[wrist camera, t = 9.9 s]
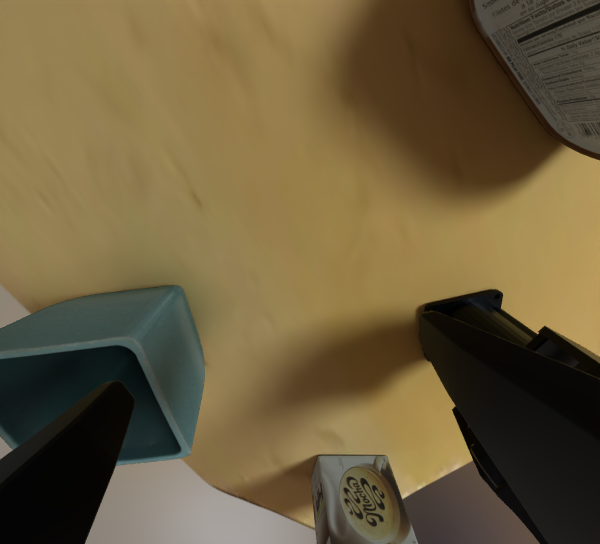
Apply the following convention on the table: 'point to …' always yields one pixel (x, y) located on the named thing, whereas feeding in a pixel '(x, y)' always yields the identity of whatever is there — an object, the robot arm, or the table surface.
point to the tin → (550, 61)
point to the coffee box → (358, 502)
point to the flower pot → (107, 367)
